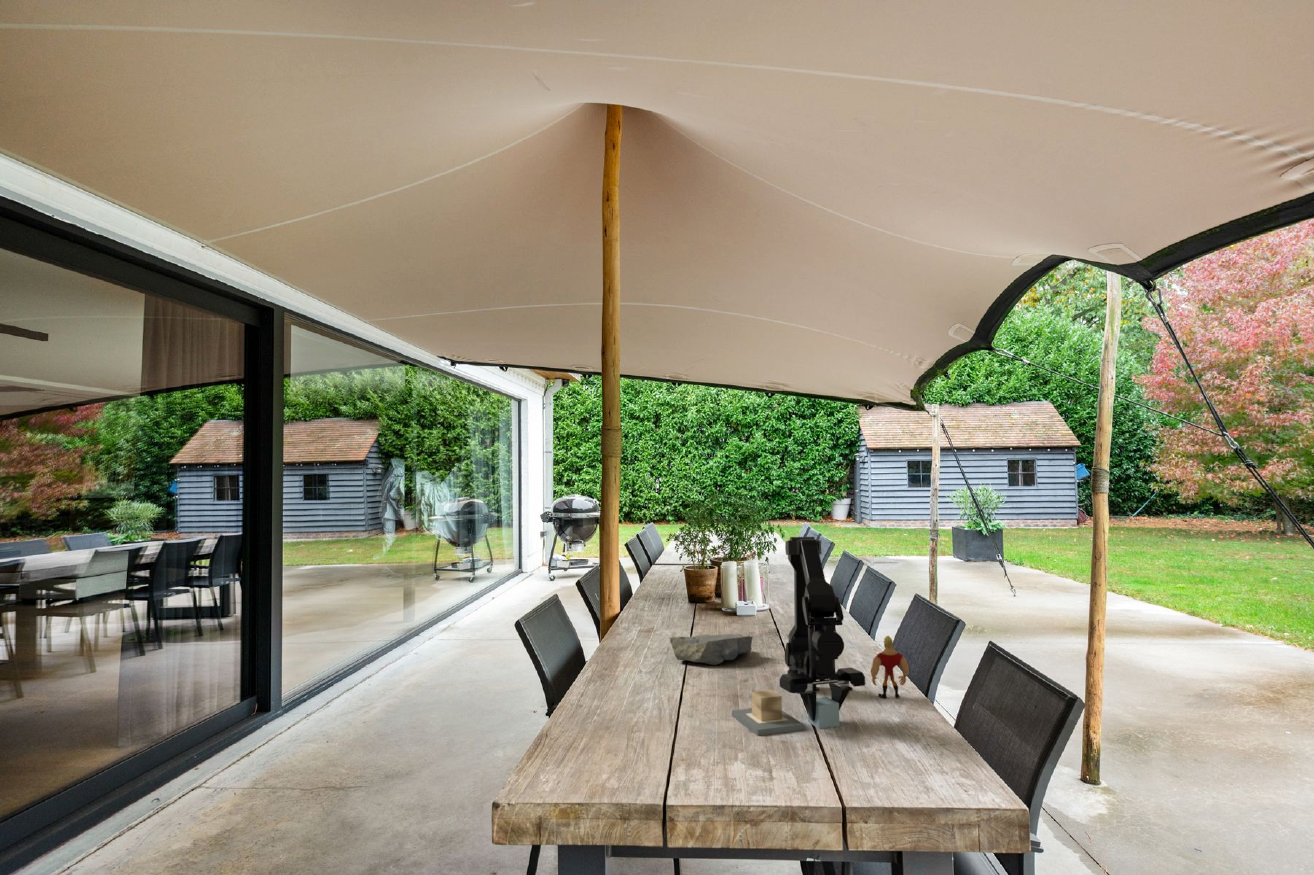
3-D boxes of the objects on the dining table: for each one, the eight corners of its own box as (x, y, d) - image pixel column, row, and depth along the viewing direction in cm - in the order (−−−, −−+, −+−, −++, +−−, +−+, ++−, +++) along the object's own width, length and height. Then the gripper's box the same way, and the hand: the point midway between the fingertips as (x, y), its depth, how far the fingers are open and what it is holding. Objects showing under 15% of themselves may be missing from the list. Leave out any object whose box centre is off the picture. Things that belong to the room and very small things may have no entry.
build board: (774, 710, 173) (774, 705, 173) (803, 729, 160) (803, 723, 160) (731, 715, 170) (731, 710, 170) (757, 735, 157) (757, 729, 157)
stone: (657, 634, 222) (698, 620, 243) (657, 663, 222) (698, 646, 243) (726, 643, 210) (763, 627, 231) (726, 673, 209) (764, 654, 230)
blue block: (827, 719, 167) (827, 697, 167) (839, 726, 162) (838, 703, 162) (808, 721, 165) (807, 699, 166) (819, 728, 161) (818, 705, 161)
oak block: (772, 712, 168) (771, 690, 168) (782, 719, 163) (781, 696, 164) (752, 714, 167) (751, 692, 167) (761, 721, 162) (761, 698, 162)
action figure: (906, 694, 185) (904, 634, 186) (911, 699, 181) (909, 637, 182) (868, 695, 185) (867, 634, 186) (873, 699, 181) (871, 637, 182)
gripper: (839, 637, 175) (840, 704, 174) (767, 644, 170) (769, 713, 169) (865, 647, 164) (867, 719, 164) (790, 654, 159) (792, 728, 158)
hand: (823, 719), depth 164 cm, fingers closed on blue block, 5 cm apart
